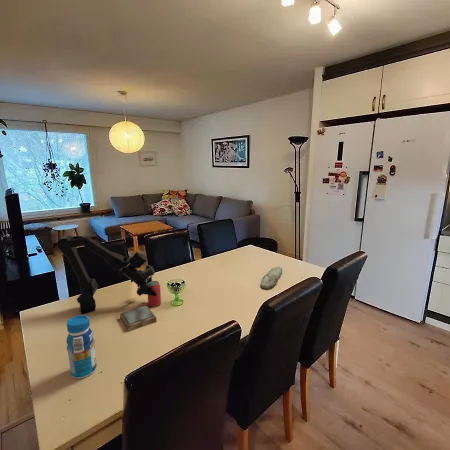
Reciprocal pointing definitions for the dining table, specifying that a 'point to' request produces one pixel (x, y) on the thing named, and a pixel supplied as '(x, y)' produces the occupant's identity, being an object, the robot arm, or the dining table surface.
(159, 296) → the beer can
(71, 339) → the beverage bottle
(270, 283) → the long grey stone
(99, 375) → the dining table surface
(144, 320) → the walnut stand
